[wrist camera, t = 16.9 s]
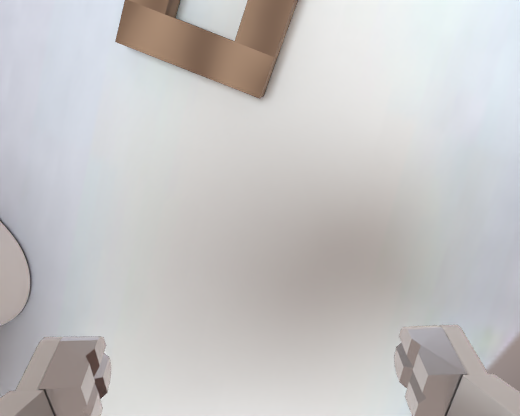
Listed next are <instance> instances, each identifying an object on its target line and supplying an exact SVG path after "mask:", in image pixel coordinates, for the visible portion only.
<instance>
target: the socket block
mask: <svg viewBox="0 0 520 416" xmlns="http://www.w3.org/2000/svg"><path fill="white" fill-rule="evenodd" d="M297 2H298V0H248V1H247V4H246V8H245V11H244V14H243V17H242V20H241V23H240V26H239V29H238V32H237V36H236V39H235V41H232V40H230V39H227V38H225V37H222V36H220V35H217V34H215V33H212V32H209V31H207V30H204V29H202V28H199V27H197V26H194V25H192V24H189V23H186V22H184V21H181V20H179V19H176V14H177V10H178V7H179V3H180V0H125V2H124V7H123V11H122V15H121V20H120V24H119V28H118V33H117V37H116V41H115V42H117V43H120V44H122V45H125V46H127V47H130V48H132V49H135V50H137V51H140V52H142V53H145V54H148V55H150V56H153V57H155V58H158V59H160V60H163V61H165V62H168V63H171V64H173V65H176V66H178V67H181V68H183V69H186V70H188V71H191V72H193V73H196V74H199V75H201V76H204V77H206V78H209V79H211V80H214V81H216V82H219V83H221V84H224V85H227V86H229V87H232V88H234V89H237V90H239V91H242V92H244V93H247V94H250V95H252V96H255V97H257V98H261V97H263V96H264V93H265V91H266V88H267V85H268V82H269V80H270V77H271V74H272V71H273V68H274V66H275V63H276V60H277V57H278V54H279V52H280V49H281V46H282V43H283V41H284V38H285V35H286V32H287V29H288V27H289V24H290V21H291V18H292V16H293V13H294V10H295V7H296V4H297Z"/></svg>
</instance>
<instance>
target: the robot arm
mask: <svg viewBox="0 0 520 416" xmlns="http://www.w3.org/2000/svg"><path fill="white" fill-rule="evenodd" d="M29 291H30V274H29V269H28V265H27V261H26V259H25V256H24V254H23V252H22V250H21V248H20V246H19V244H18V243H17V241H16V240H15V238H14V237H13V236H12V234H11V233H10V232H9V231H8V230H7V228H6V227H5V226H4V225H3V224H2V223H1V221H0V326H1V325H3V324H6V323H8V322H10V321H11V320H13V319H14V318H15V317H16V316H17V315H18V314H19V313H20V312H21V311H22V309H23V308H24V306H25V304H26V302H27V299H28V296H29ZM399 338H400V340H401V344H399V345H398V346H397V347H396V350H395V355H394V362H395V370H396V374H397V377H398V380H399V382H400V383H401V384H402V385H404V386H405V387H406V388H407V391H406V394H405V398H406V401H407V404H408V406H409V409H410V412H411V414H412V416H520V392H519V391H517V390H516V389H514V388H513V387H512V386H510V385H509V384H507V383H506V382H504V381H503V380H502V379H500V378H499V377H497V376H496V375H495V374H488V372H487V371H486V369H485V367H484V366H483V364H482V362H481V361H480V359H479V357H478V356H477V354H476V352H475V351H474V349H473V347H472V345H471V344H470V342H469V340H468V339H467V337H466V335H465V334H464V332H463V330H462V329H461V327H459V326H458V325H439V326H437V325H432V326H409V327H403V328H402V329H401V331H400V334H399ZM105 348H106V343H105V340H104V337H101V336H87V337H44V338H43V339H42V340H41V341H40V342H39V344H38V346H37V348H36V350H35V352H34V354H33V356H32V358H31V360H30V362H29V364H28V366H27V368H26V370H25V372H24V374H23V376H22V378H21V380H20V382H19V384H18V386H17V388H16V390H15V391H9V392H8V393H7V394H5V395H4V396H3V397H2V398H0V416H101V413H102V409H103V407H102V403H101V400H100V399H101V398H102V397H103V396H104V395H105V394H106V393H107V392H108V388H109V384H110V378H111V362H110V358H109V356H108V355H106V354H105V353H104V351H105Z"/></svg>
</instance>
